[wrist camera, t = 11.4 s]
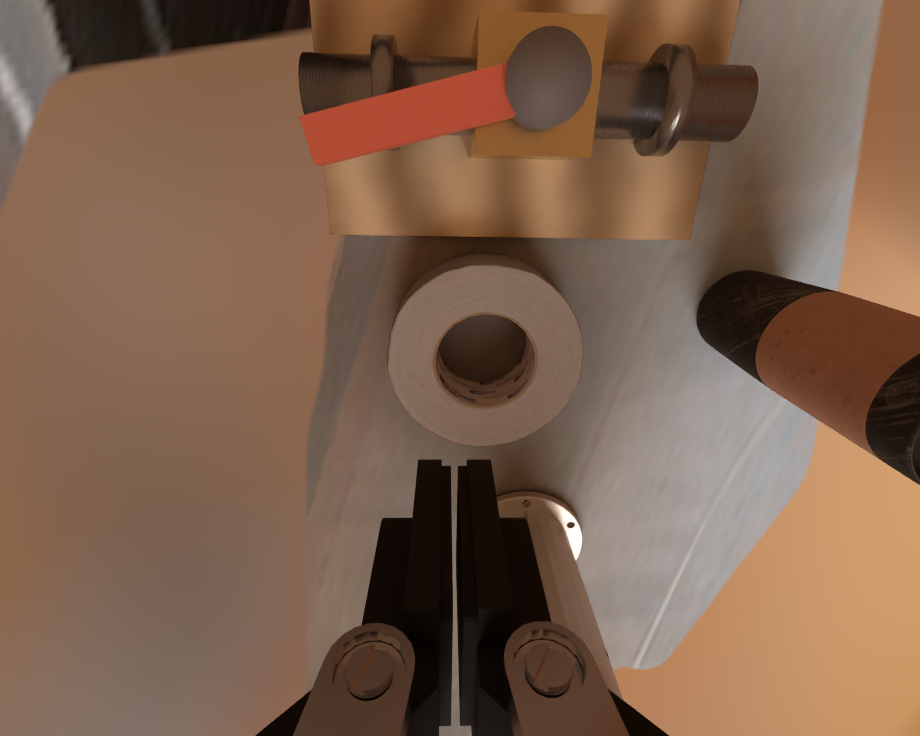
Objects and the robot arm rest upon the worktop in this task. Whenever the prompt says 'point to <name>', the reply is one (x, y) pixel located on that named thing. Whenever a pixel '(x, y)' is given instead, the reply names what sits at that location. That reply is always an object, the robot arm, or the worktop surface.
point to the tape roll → (493, 402)
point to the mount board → (518, 180)
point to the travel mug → (825, 357)
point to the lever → (462, 101)
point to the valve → (601, 116)
